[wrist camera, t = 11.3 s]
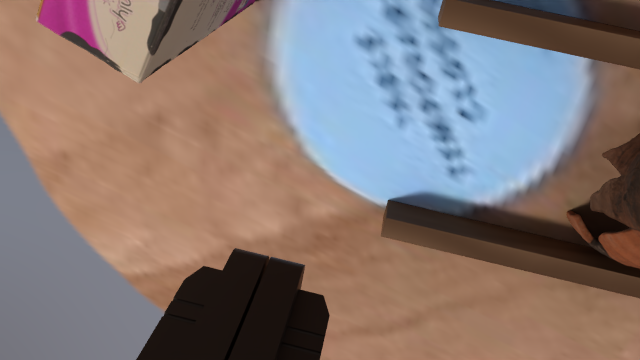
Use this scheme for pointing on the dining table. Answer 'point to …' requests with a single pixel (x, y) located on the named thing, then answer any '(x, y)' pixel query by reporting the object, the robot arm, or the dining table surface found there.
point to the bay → (500, 242)
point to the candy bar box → (137, 28)
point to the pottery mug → (618, 207)
